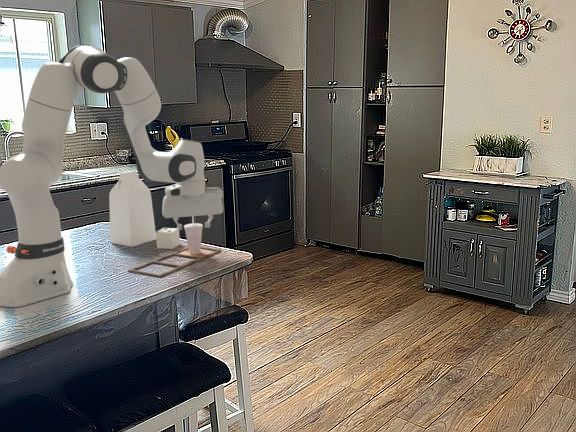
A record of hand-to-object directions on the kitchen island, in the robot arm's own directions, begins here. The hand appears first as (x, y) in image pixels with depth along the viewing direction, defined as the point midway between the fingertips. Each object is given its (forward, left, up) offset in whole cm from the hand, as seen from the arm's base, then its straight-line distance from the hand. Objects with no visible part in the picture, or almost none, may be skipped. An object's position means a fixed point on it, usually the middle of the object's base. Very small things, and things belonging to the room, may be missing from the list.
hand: (193, 228), depth 195 cm
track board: (-10, 0, -9) cm, 13 cm away
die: (+3, +15, -9) cm, 17 cm away
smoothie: (0, 0, -9) cm, 9 cm away
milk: (+3, +32, -9) cm, 33 cm away
